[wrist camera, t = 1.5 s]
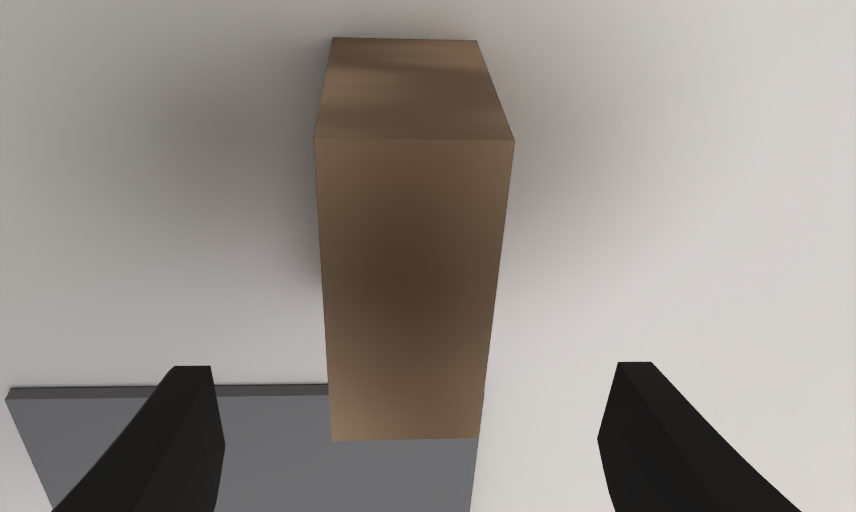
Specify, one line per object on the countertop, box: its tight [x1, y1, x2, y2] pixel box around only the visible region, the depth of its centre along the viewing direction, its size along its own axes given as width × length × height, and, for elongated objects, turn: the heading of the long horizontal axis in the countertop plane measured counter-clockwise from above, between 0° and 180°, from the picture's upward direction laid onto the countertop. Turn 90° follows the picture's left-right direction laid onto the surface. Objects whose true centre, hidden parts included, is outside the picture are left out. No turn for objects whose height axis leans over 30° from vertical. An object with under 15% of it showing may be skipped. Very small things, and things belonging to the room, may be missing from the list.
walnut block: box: [313, 37, 515, 441], centre depth 17 cm, size 4×8×6 cm, turn 177°
